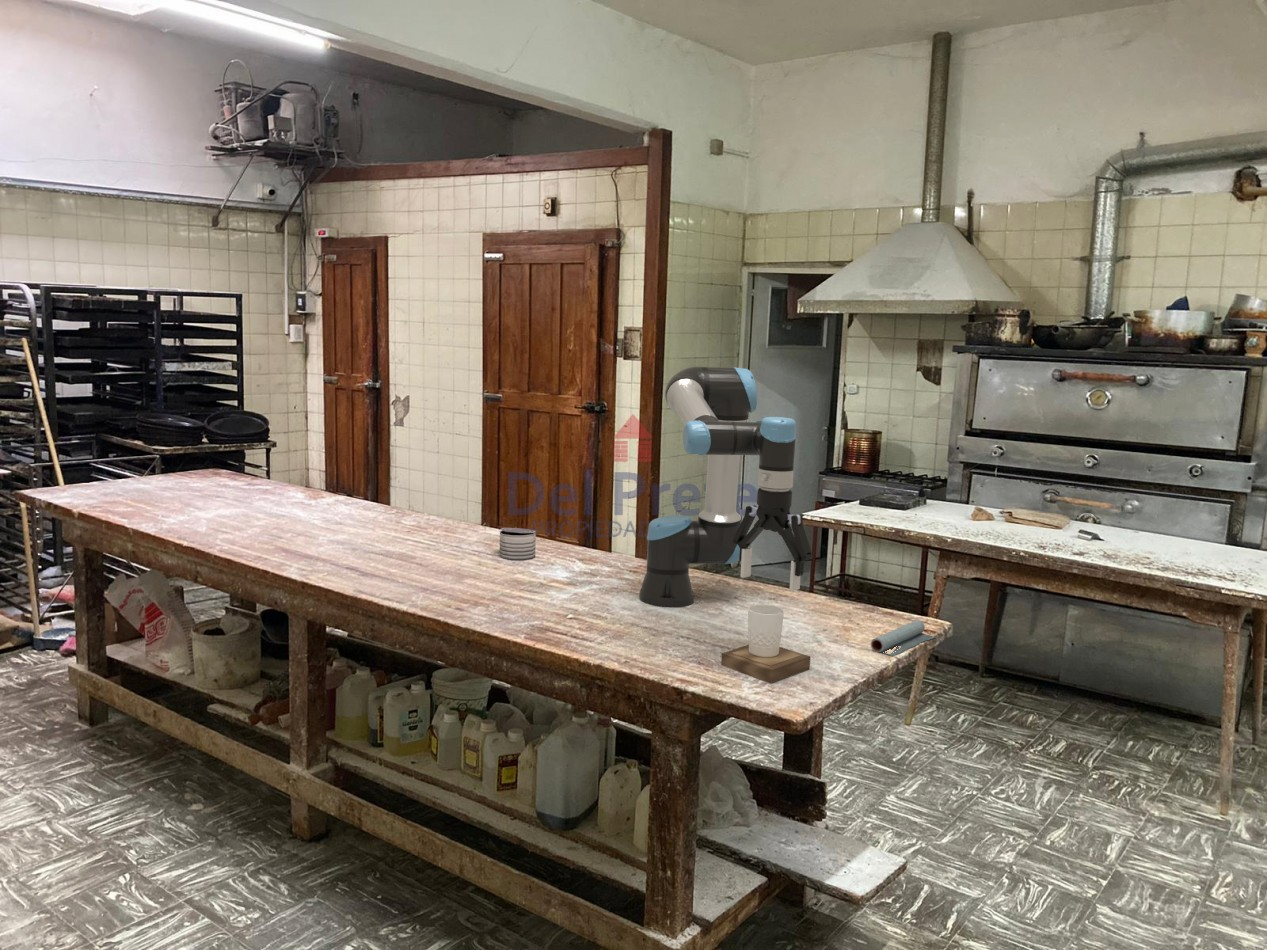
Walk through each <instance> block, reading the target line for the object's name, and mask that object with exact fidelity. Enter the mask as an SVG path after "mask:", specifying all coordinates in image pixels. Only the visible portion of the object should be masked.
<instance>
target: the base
mask: <svg viewBox="0 0 1267 950" xmlns="http://www.w3.org/2000/svg"><path fill="white" fill-rule="evenodd" d="M720 661H721V664H720V665H721V666H723V667H724V668H725V667H726V668H728V669H730V670H733V671H736V672H739V673H741V674H743V675H746V676H749V677H750V678H751V677H752V678H754V679H756V680H760V681H763V682H766V683H768V684H774V683H777V682H779V681H781V680H784V679H788V678H789V677H793V676H795V675H798V674H801V673H803V672H807V671H808V670H810V668H811V655H808V654H804V653H801V652H798V651H794V650H791V649H787V648H785V647H781V646H779V654H778V655H777V656H774V657H760V656H755V655H752V654H751V653H750V652H749V644H746V645H744V646H743V645H742V646H741V647H738V648H734V649H731V650H728V651H723V652H722V653H721V660H720Z"/></svg>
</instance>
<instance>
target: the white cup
mask: <svg viewBox="0 0 1267 950" xmlns="http://www.w3.org/2000/svg"><path fill="white" fill-rule="evenodd" d="M747 613H748V614H747V625H748V626H747V628H748V629H747V636H748V645H749V652H750V653H751V654H752V655H755V656H760V657H774V656H777V655H778V654H779V647H781V646H780V645H781V644H780V643H781V641H782V632H783V624H784V615H785V610H784V609H783V608H782V607H779V606H776V605H771V604H754V605H750V606H749V607H748V608H747Z"/></svg>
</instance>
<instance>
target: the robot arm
mask: <svg viewBox="0 0 1267 950" xmlns="http://www.w3.org/2000/svg"><path fill="white" fill-rule="evenodd" d="M664 397H665V400H666V403H667V404H666V405H668V408H670V409H671V411H672V412H673V413H675V414H677V416H679V419H680V420H681V422H682V425H683V433H682V434H683V435H682V441H683V448H684V449H683V450H684V451H685V453H687V454H690V455H698V456H707V469H706V481H705V494H704V495H705V497H704V507H703V508H704V509H703V510H701V511H700V512H699V513H698V519H697V521H692V518H691V517H690V515H684V514H681V515H679V514H674V515H673V514H672V515H671V514H670V515H666V516H660V517H659V516H658V517H657V518H654V519H652V520H651V521H650V522H649V524H648V527H647V536H646V540H647V546H646V548H647V550H646V554H647V555H646V570H645V572H646V573H645V576H644V578H643V581H642V585H641V588H640V589H639V594H638V595H639V598H638V599H639V600H640V601H641V602H642V603H644V604H647V605H649V606H653V607H660V608H669V609H670V608H672V609H673V608H674V609H675V608H683V607H688V606H691V605H693V604H694V603H695V592H694V590H693V588H692V583H691V579H690V565H693V564H695V565H698V564H699V565H700V564H701V565H702V564H703V565H710V564H712V565H716V564H717V565H727V564H735V563H738V562H740V578H741V579H742V578H743V579H745V578H748V577H749V578H750V577H751V576H752V561H753V560H752V558H753V548H752V547H751V544H752V543H753V542H754V541H755V540H756V539H757V537H759V535H760V534H761V533H762V532H763V531H764V530H765V531H770V532H771V531H772V532H774V533H776V532H777V534H778V535H779V536H781V537H782V539H783V542H784V543H785V545H786V547H787V548H788V551H789V552H790V554H791V556H792V557H793V559H794V560H791V561H790V577H789V591H790V592H794V591H795V592H796V591H798V590H800V589H801V587H800V586H801V576H803V575H804V571H805V570H804V569H805V561H808V560H812V559H813V558H814V555H813V552H812V549H811V546H810V542H809V540H808V536H807V533H806V530H805V527H804V525H803V523H804V521H803V515H802V514H801V513H799V514H791V512H790V510H791V507H792V504H793V503H792V500H793V491H792V490H791V489H792V488H793V487H794V466H795V452H796V438H797V427H796V426H797V423H796V420H794V419H793V418H791V417H782V416H766V417H763V418H762V420H755V421H749V417H750V416H749V415H750V413H751V414H752V413H754V412H756V409H757V406H758V388H757V383H756V381H755V376H754V375H753V372H752V371H750V369H748V368H745V367H743V368H741V367H735V366H722V367H721V366H691V367H687V368H684V369H682V370H680V371H679V372H677V373H675V374H674V375H673V376H672V377H671V378H670V380H669V381H668V382H667V385H666V388H665V392H664ZM741 456H759V457H758V459H759V461H758V476H757V477H758V479H757V486H758V487H759V488H758V489H757V493H756V494H757V495H756V504H757V505H758V506H757V505H755V504H754V505H747V506H746V507H745V512H744V515H743V518H742V516H741V515H740V514H739V513H738V512H737V499H738V490H739V474H740V471H739V470H740V461H741V459H740V458H741ZM756 517H757V519H758V520H757V521H756V522H755V523H754V525H753V527H752V528H751V526H752V524H753V522H754V520H755V518H756ZM750 528H751V529H750Z"/></svg>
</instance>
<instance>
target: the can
mask: <svg viewBox="0 0 1267 950" xmlns="http://www.w3.org/2000/svg"><path fill="white" fill-rule="evenodd" d="M498 530H500V531H499V557H500V558H502V560H507V561H517V562H518V561H519V562H524V561H529V560H533V559H535V558H536V548H537V547H536V546H537V544H536V542H537V541H536V538H537V536H536V533H537V530H534V529H530V528H520V527H519V528H518V527H503V528H500V529H498Z"/></svg>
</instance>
